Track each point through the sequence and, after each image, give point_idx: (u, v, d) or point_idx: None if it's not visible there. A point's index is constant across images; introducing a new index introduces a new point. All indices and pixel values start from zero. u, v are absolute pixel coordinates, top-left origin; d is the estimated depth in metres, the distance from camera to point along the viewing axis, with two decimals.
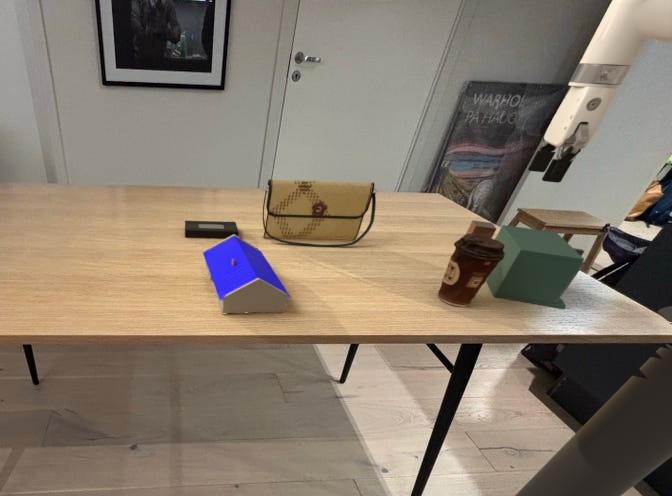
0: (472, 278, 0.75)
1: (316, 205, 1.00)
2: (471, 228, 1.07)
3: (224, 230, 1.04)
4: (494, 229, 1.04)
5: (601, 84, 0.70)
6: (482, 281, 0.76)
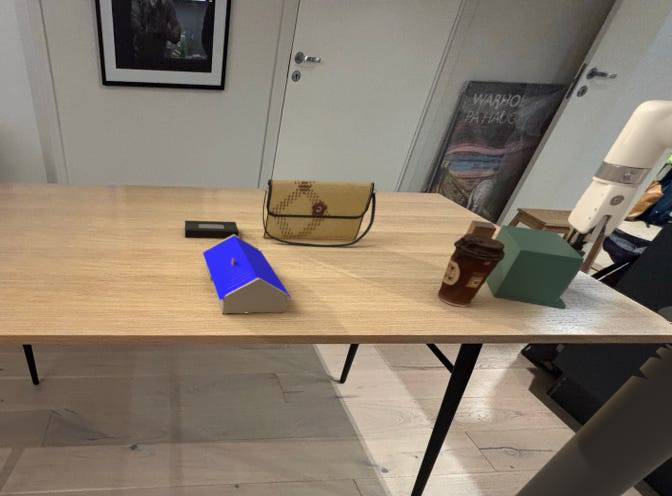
0: (472, 278, 0.75)
1: (316, 205, 1.00)
2: (471, 228, 1.07)
3: (224, 230, 1.04)
4: (494, 229, 1.04)
5: (624, 183, 0.76)
6: (482, 281, 0.76)
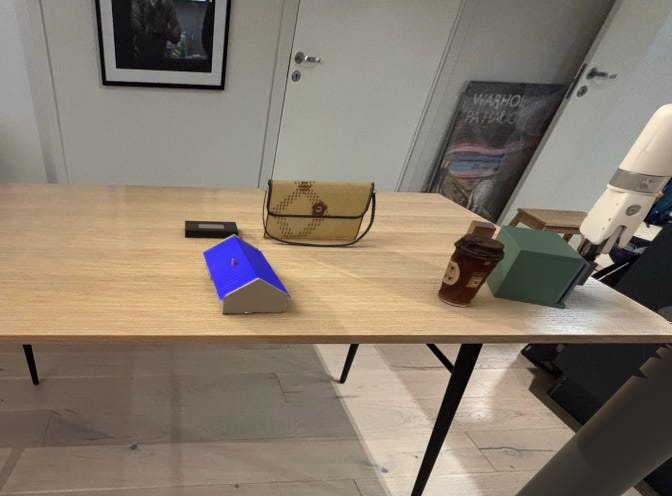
0: (472, 278, 0.75)
1: (316, 205, 1.00)
2: (471, 228, 1.07)
3: (224, 230, 1.04)
4: (494, 229, 1.04)
5: (641, 192, 0.71)
6: (482, 281, 0.76)
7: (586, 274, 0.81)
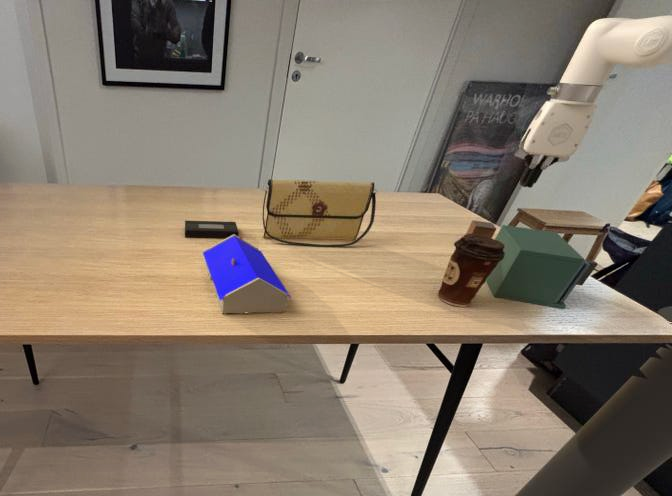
0: (472, 278, 0.75)
1: (316, 205, 1.00)
2: (471, 228, 1.07)
3: (224, 230, 1.04)
4: (494, 229, 1.04)
5: (552, 99, 0.84)
6: (482, 281, 0.76)
7: (586, 274, 0.81)
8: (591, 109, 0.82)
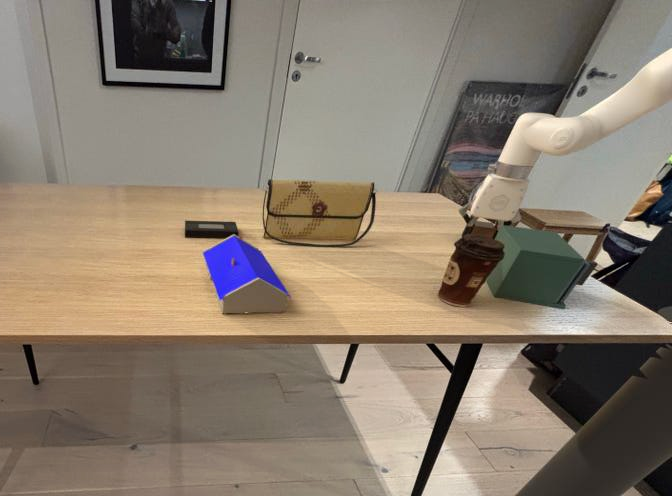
0: (472, 278, 0.75)
1: (316, 205, 1.00)
2: None
3: (224, 230, 1.04)
4: (494, 229, 1.04)
5: (492, 173, 0.99)
6: (482, 281, 0.76)
7: (586, 274, 0.81)
8: (524, 184, 0.96)
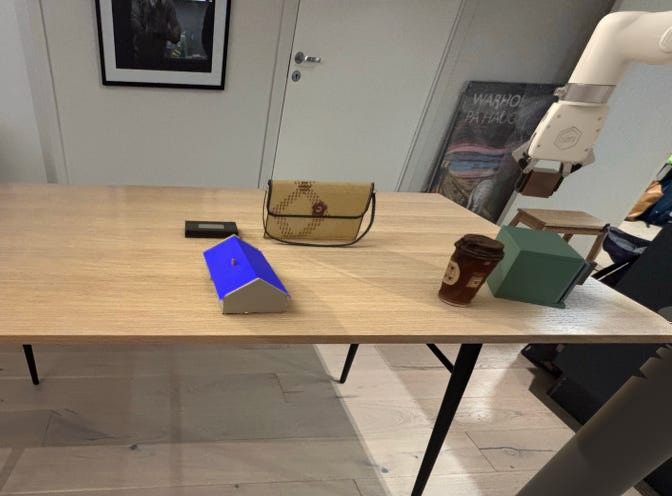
0: (472, 278, 0.75)
1: (316, 205, 1.00)
2: None
3: (224, 230, 1.04)
4: (559, 174, 0.82)
5: (559, 100, 0.78)
6: (482, 281, 0.76)
7: (586, 274, 0.81)
8: (603, 111, 0.75)
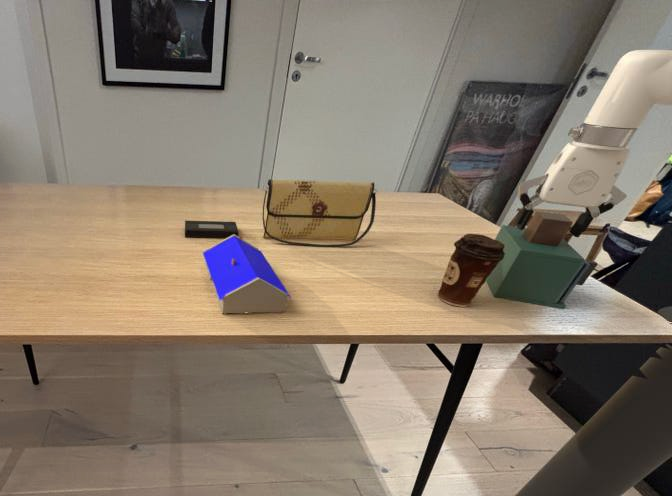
0: (472, 278, 0.75)
1: (316, 205, 1.00)
2: (535, 222, 0.80)
3: (224, 230, 1.04)
4: (570, 223, 0.76)
5: (574, 141, 0.72)
6: (482, 281, 0.76)
7: (586, 274, 0.81)
8: (622, 155, 0.69)
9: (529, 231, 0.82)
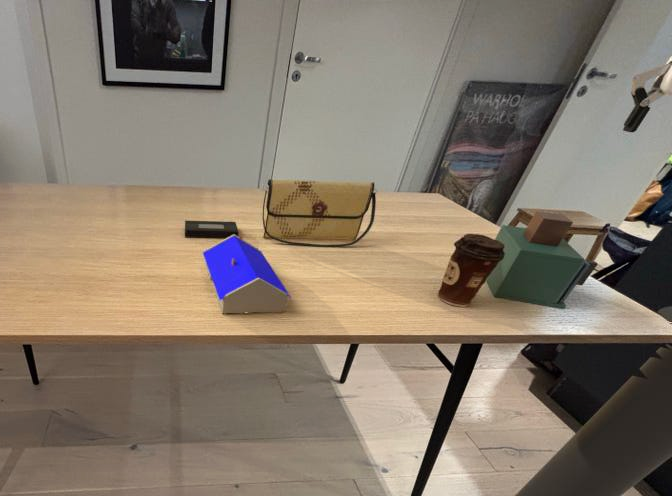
0: (472, 278, 0.75)
1: (316, 205, 1.00)
2: (535, 222, 0.80)
3: (224, 230, 1.04)
4: (570, 223, 0.76)
5: None
6: (482, 281, 0.76)
7: (586, 274, 0.81)
8: None
9: (529, 231, 0.82)
